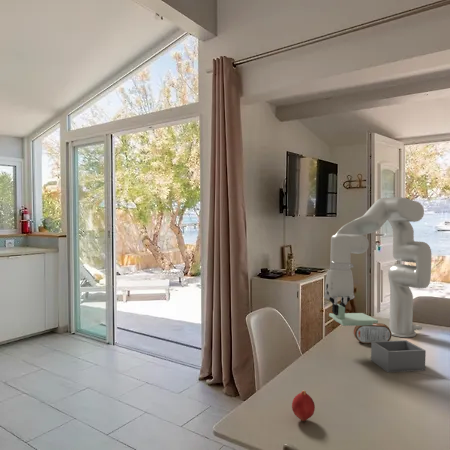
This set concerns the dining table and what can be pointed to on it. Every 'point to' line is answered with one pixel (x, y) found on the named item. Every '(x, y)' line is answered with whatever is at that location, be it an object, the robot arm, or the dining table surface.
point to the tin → (372, 333)
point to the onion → (303, 406)
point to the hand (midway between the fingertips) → (338, 314)
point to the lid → (352, 318)
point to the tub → (398, 356)
